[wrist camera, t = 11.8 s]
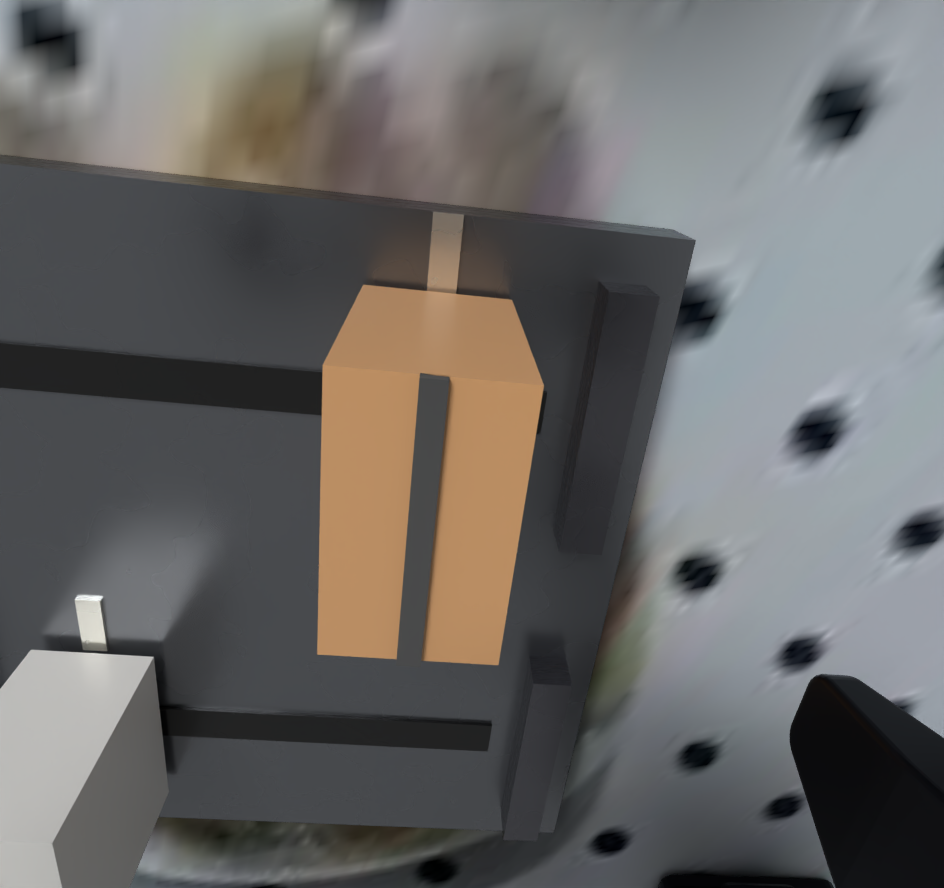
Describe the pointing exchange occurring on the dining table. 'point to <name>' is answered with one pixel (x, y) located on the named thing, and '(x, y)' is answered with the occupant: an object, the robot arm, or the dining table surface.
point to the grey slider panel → (302, 479)
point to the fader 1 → (79, 769)
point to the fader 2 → (423, 475)
